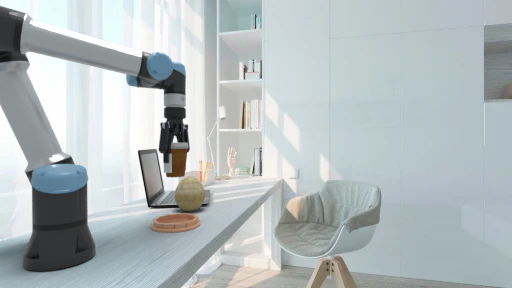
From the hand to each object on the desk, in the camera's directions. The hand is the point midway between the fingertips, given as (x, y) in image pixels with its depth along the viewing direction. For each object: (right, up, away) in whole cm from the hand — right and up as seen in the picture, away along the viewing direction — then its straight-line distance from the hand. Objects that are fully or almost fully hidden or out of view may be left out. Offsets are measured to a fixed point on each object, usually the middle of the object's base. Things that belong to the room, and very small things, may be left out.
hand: (175, 171), depth 105 cm
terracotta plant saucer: (0, -19, 0) cm, 19 cm away
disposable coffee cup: (0, -2, 0) cm, 2 cm away
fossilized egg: (0, -19, +22) cm, 30 cm away
